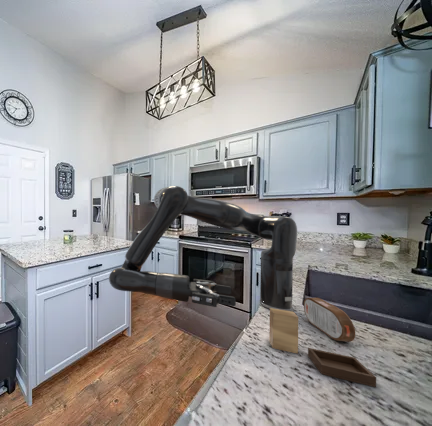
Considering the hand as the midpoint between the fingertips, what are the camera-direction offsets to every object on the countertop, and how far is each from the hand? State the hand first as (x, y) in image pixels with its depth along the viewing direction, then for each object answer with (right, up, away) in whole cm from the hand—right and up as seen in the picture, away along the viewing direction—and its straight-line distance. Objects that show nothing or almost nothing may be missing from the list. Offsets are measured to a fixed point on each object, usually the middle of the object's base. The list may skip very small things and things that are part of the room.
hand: (233, 295), depth 57 cm
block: (+10, -11, -4) cm, 16 cm away
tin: (+29, -12, +3) cm, 31 cm away
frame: (+16, -12, -12) cm, 23 cm away
